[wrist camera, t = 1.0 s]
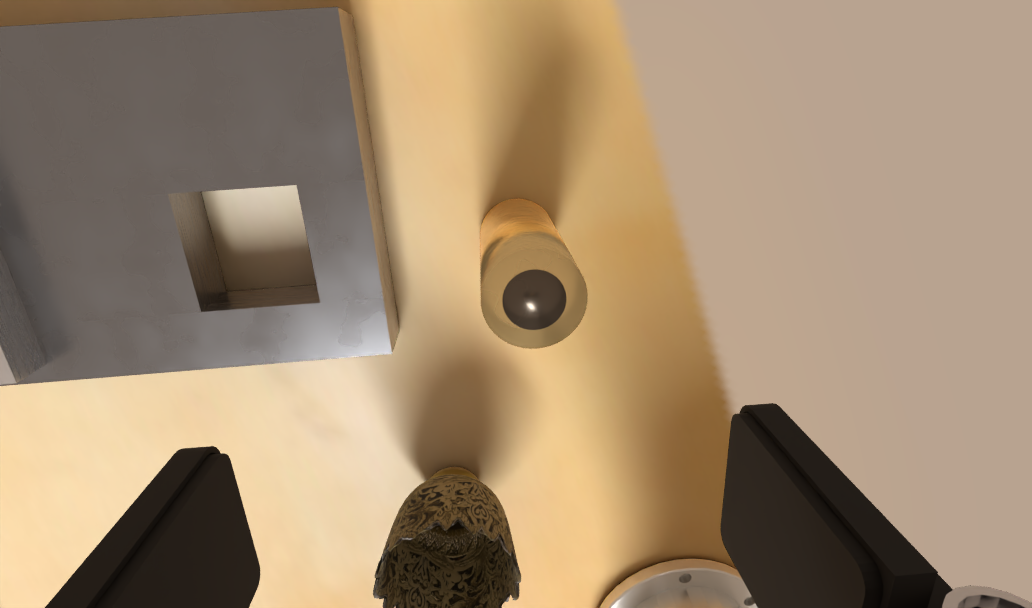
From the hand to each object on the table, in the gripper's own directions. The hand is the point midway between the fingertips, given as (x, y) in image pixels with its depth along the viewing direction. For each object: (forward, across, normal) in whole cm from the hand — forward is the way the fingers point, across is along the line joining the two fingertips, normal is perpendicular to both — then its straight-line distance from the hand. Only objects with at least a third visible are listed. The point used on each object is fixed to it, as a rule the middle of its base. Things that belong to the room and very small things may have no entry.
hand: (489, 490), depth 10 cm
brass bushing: (+21, -2, 0) cm, 21 cm away
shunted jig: (+21, +15, -2) cm, 26 cm away
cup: (+21, +3, +16) cm, 27 cm away
